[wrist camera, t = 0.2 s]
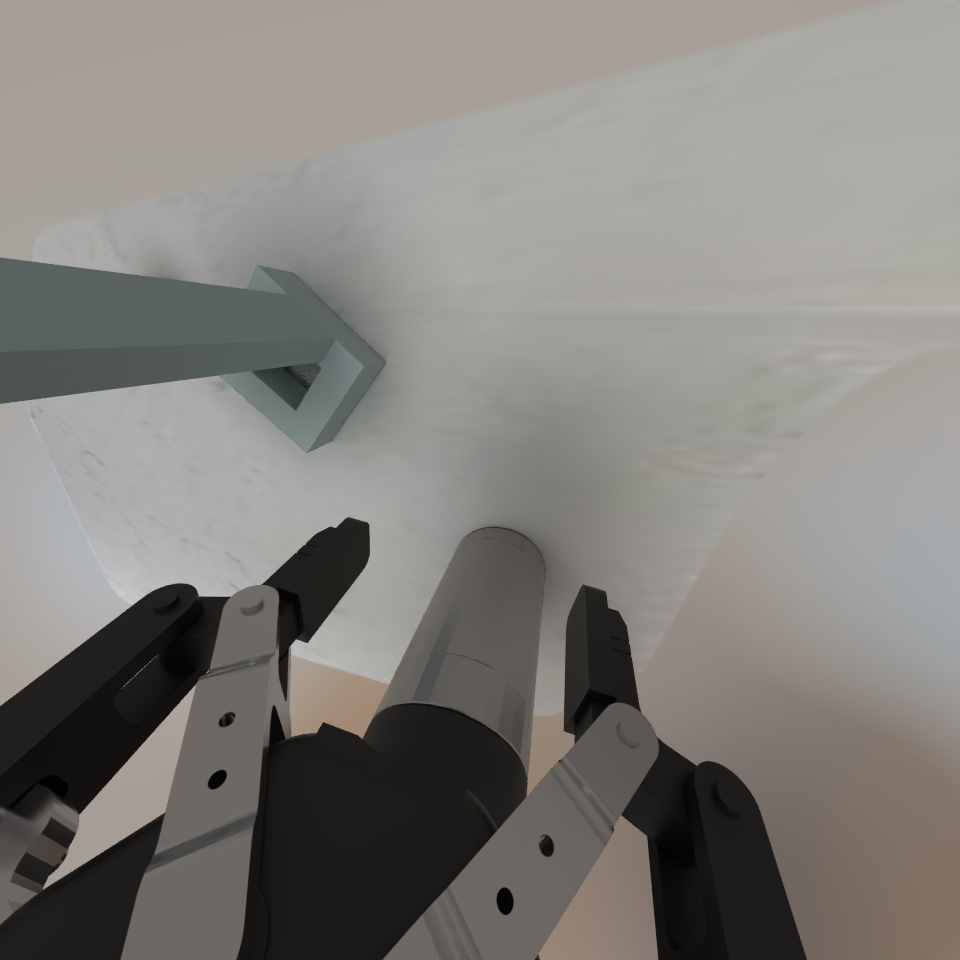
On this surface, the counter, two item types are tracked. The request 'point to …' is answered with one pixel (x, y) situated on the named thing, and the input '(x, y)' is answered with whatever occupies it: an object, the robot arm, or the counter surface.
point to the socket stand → (181, 341)
